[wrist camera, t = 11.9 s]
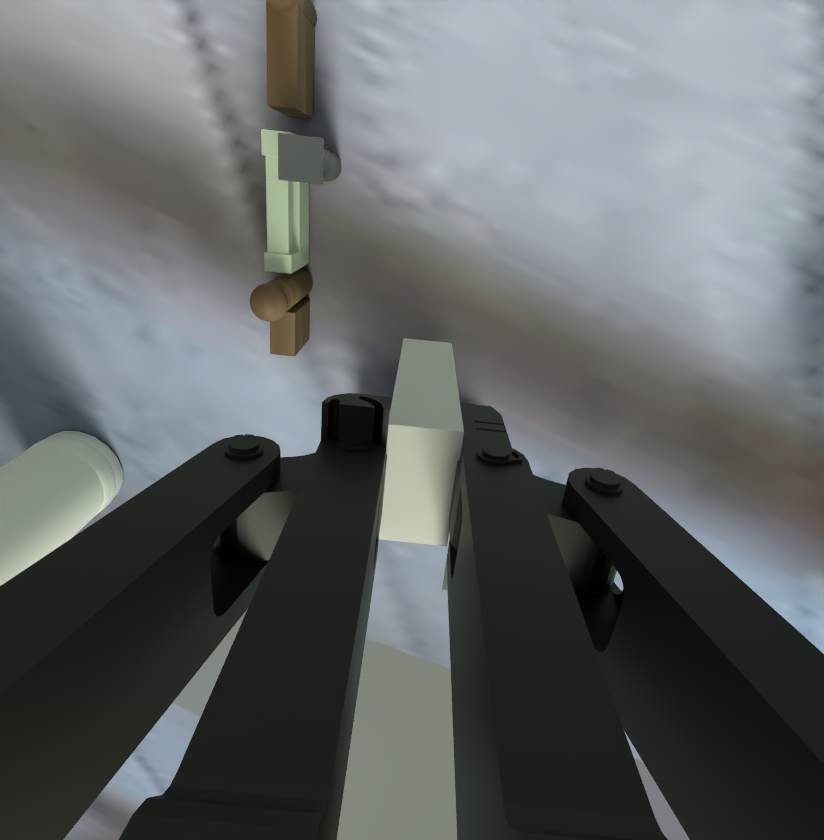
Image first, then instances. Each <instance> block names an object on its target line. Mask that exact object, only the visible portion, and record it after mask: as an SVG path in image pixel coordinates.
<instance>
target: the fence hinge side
mask: <svg viewBox="0 0 824 840" xmlns="http://www.w3.org/2000/svg"><path fill="white" fill-rule="evenodd" d="M312 286H313V281H312V278H311V276H310V274H309V273H308V272H307V271H306V270H304V269H301V268H300V269H298V270H297V271H295V272H293V273H292V274H290V273H284V274H282V275H281V276H279V277H277V278H275V279H273V280H272V281H270V282H268V283H266V284H262V285H259V286H258V287H256V288H255V289H254V290H253V292H252V294H251V296H250V306H251V309H252V311H253V313H254V314H255V315H256V316H257V317H258V318H260V319H262V320H264V321H270V354H277V355H286V356H295V355H296V354H297V353H298V352H299V351H300V349H301V348H302V347H303V346H304V345H305V343H306V342H307V341H308V340H309V319H310V300H305V299H302V298H303V297H305V296H306V295H307V294H308V293H309V292H310V291H311V289H312Z"/></svg>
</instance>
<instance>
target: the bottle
mask: <svg viewBox="0 0 824 840" xmlns="http://www.w3.org/2000/svg"><path fill="white" fill-rule="evenodd" d="M122 484H123V470H122V468H121V465H120V463H119V460H118V458H117V457H116V455H115V454H114V453H113V452H112V451H111V449H110V448H109V447H108V446H107V445H106V444H104V443H103V442H101V441H100V440H98V439H97V438H96V437H94V436H91V435H88V434H85V433H82V432H80V431H62V432H59V433H56V434H52V435H51V436H49V437H47V438H46V439H44V440H41V441H39V442H37V443H36V444H34V445H32V446H31V447H30V448H28V449H27V450H26V451H25V452H24V453H22V454H21V455H19V456H18V457H16V458H15V459H13V460H12V461H10V462H8V463H7V464H5V465H4V466H2V467H1V468H0V586H1V585H3V584H4V583H6V582H7V581H9V580H10V579H12V578H13V577H15V576H16V575H18V574H19V573H21V572H22V571H24V570H25V569H27V568H28V567H30V566H31V565H32V564H34V563H35V562H37V561H38V560H40V559H41V558H43V557H44V556H46V555H47V554H49V553H50V552H52V551H53V550H55V549H56V548H58V547H59V546H61V545H62V544H64V543H65V542H67V541H68V540H70V539H71V538H72V537H73V536H74V535H75V534H76V533H77V532H78V531H79V530H81V529H82V528H83V527H84V526H85V525H86V524H87V523H88V522H89V521H90V520H91V519H92V518H93V517H94V516H96V515H97V514H98V513H99V512H100V511H102V510H103V509H104V508H105V507H106V506H107V505H108V504H109V503H110V502H111V500H112V499H113V498H114V497H115V496H116V495H117V494H118V492H119V490H120V488H121V486H122Z"/></svg>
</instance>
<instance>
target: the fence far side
mask: <svg viewBox="0 0 824 840" xmlns="http://www.w3.org/2000/svg"><path fill="white" fill-rule="evenodd" d="M266 1H267V2H266V8H267V96H268V106H269V107H271V108H273V109H275V110H277V111H279V112H281V113H283V114H285V115H286V116H291V117H300V118H309V119H313V109H314V56H315V29H314V28H315V26H316V21H317V15H316V11H315V9H314V7H313V5H312V4H311V2H310V0H266Z"/></svg>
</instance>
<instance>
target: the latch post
mask: <svg viewBox="0 0 824 840" xmlns="http://www.w3.org/2000/svg"><path fill="white" fill-rule="evenodd" d="M340 172H341V162H340V159H339V158H338V156H337V155H336V154H335V153H333V152H331V151H329V150H326V149H324V139H323V138H321V137H311V136H302V135H293V134H283V133H278V180H284V181H294V182H303V183H313V184H323V181H332V180H335V179H336V178H337V177H338V176H339V174H340Z"/></svg>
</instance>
